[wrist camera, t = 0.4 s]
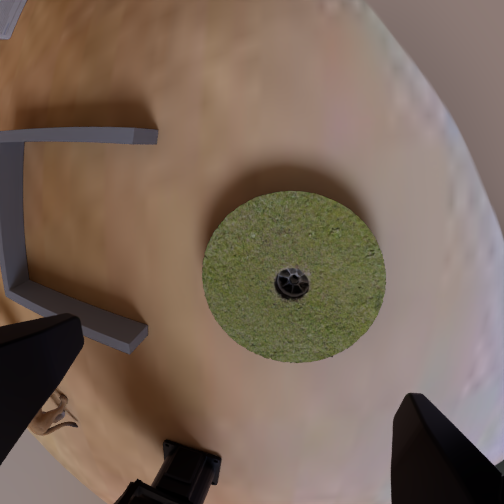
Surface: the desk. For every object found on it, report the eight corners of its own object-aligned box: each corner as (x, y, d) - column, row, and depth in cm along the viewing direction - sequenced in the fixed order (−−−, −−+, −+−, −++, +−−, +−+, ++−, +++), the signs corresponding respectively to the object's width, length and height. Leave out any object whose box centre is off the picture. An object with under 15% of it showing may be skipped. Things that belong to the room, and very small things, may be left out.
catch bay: (147, 335, 25) (129, 354, 22) (25, 285, 27) (5, 296, 24) (158, 129, 19) (134, 127, 17) (19, 130, 22) (-4, 131, 19)
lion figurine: (11, 335, 31) (-35, 368, 23) (26, 328, 29) (-25, 365, 21) (70, 423, 34) (36, 463, 25) (91, 424, 32) (55, 470, 24)
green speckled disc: (411, 237, 18) (420, 245, 16) (329, 369, 22) (328, 385, 20) (248, 158, 19) (241, 158, 17) (191, 305, 23) (180, 318, 21)
